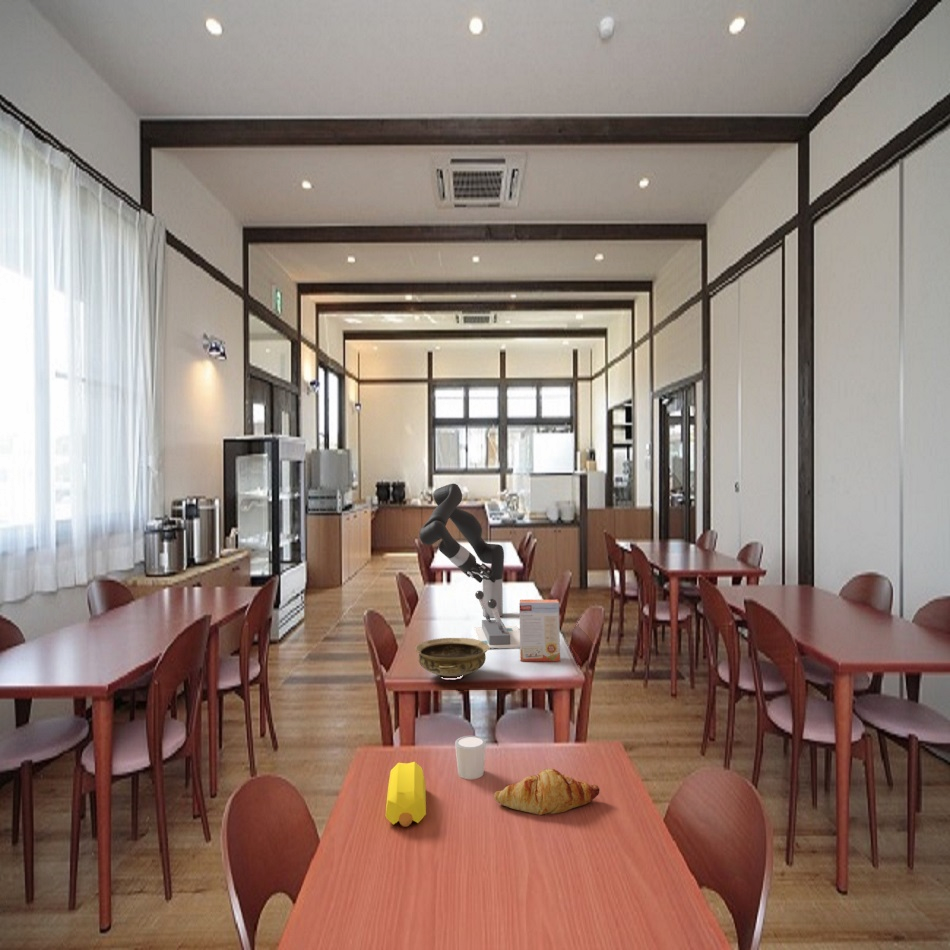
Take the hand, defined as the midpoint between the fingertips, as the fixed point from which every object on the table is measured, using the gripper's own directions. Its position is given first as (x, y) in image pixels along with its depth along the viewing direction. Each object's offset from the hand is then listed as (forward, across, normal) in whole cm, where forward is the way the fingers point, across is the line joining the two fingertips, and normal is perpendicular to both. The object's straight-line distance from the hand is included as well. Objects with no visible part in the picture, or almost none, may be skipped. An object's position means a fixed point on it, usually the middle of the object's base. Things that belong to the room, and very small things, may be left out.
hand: (488, 580), depth 252 cm
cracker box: (+14, -31, +24) cm, 41 cm away
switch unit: (+17, -1, +16) cm, 24 cm away
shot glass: (-37, -80, +75) cm, 116 cm away
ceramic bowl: (-14, -26, +46) cm, 54 cm away
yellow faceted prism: (-51, -82, +87) cm, 130 cm away
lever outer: (+10, -8, +16) cm, 21 cm away
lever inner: (+15, +8, +9) cm, 19 cm away
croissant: (-33, -99, +74) cm, 128 cm away
